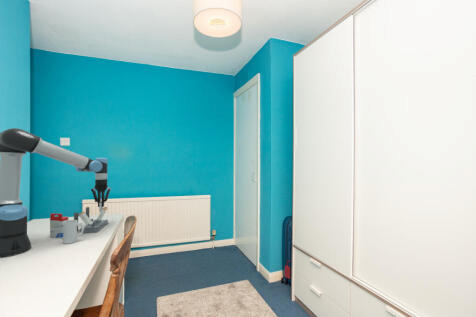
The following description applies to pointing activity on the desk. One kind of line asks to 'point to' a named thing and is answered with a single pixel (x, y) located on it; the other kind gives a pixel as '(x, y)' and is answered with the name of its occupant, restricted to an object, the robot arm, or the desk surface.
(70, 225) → the mug
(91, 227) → the breaker panel
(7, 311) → the desk surface
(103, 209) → the paddle
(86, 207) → the cable post right
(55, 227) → the ink box
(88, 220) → the paddle
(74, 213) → the cable post left
